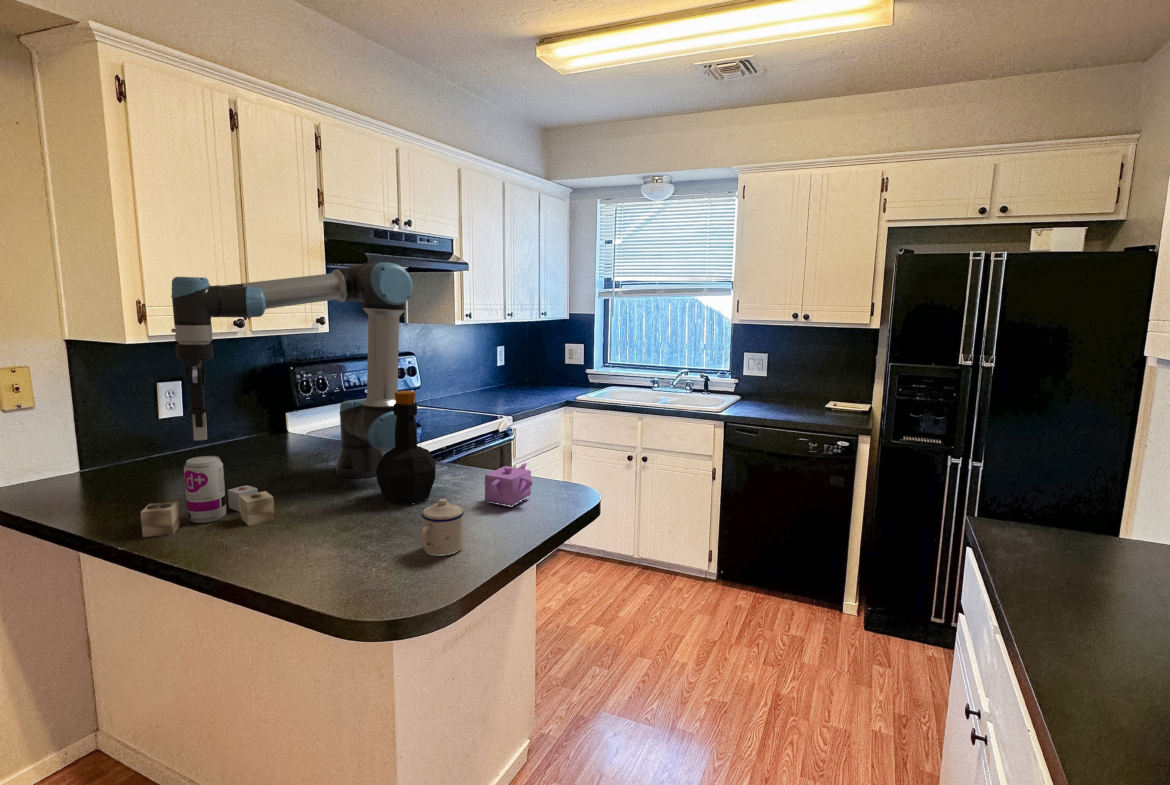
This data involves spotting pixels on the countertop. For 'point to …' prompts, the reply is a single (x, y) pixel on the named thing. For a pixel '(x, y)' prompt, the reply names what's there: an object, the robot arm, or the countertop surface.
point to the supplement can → (205, 489)
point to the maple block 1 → (160, 519)
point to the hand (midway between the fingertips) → (200, 439)
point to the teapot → (508, 485)
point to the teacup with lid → (442, 528)
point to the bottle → (406, 458)
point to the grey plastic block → (237, 492)
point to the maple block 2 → (257, 508)
